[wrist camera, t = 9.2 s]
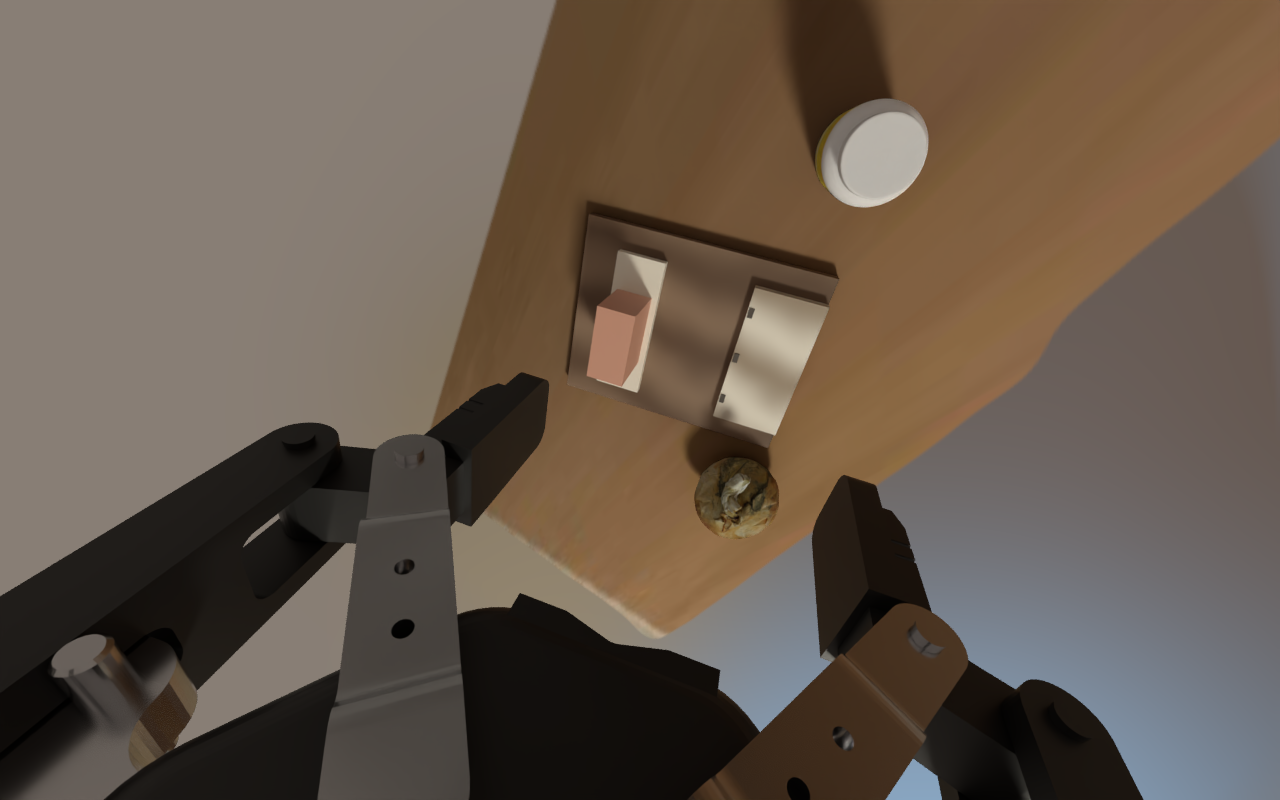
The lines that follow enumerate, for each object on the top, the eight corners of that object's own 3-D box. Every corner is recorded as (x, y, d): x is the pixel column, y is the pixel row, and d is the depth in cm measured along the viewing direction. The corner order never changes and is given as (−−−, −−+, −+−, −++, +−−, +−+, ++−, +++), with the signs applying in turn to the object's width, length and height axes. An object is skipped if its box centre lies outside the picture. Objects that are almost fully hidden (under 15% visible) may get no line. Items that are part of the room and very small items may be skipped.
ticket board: (593, 212, 38) (584, 215, 36) (837, 276, 35) (840, 282, 34) (571, 380, 46) (563, 388, 45) (768, 442, 44) (767, 453, 42)
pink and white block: (620, 249, 38) (596, 263, 33) (667, 261, 37) (650, 278, 32) (599, 376, 44) (576, 404, 39) (639, 388, 43) (621, 419, 38)
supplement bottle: (808, 196, 33) (816, 212, 25) (821, 108, 31) (835, 93, 23) (890, 197, 32) (927, 214, 24) (910, 105, 30) (960, 88, 21)
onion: (683, 462, 47) (667, 514, 40) (752, 430, 43) (747, 482, 37) (724, 515, 49) (714, 574, 42) (793, 489, 45) (795, 549, 38)
